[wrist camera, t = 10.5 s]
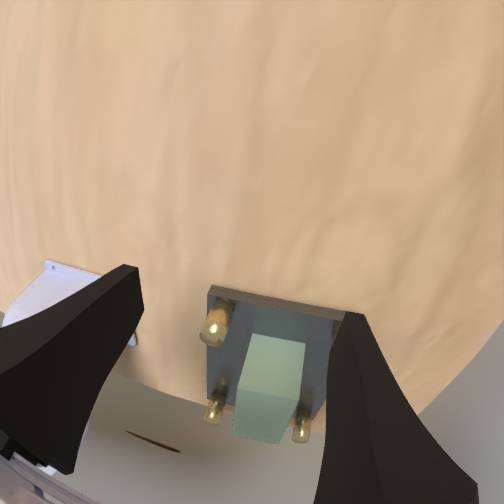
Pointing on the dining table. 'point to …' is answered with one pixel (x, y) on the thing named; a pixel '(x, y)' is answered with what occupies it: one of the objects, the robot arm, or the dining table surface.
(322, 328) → the plate
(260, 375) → the board block
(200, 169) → the dining table surface
